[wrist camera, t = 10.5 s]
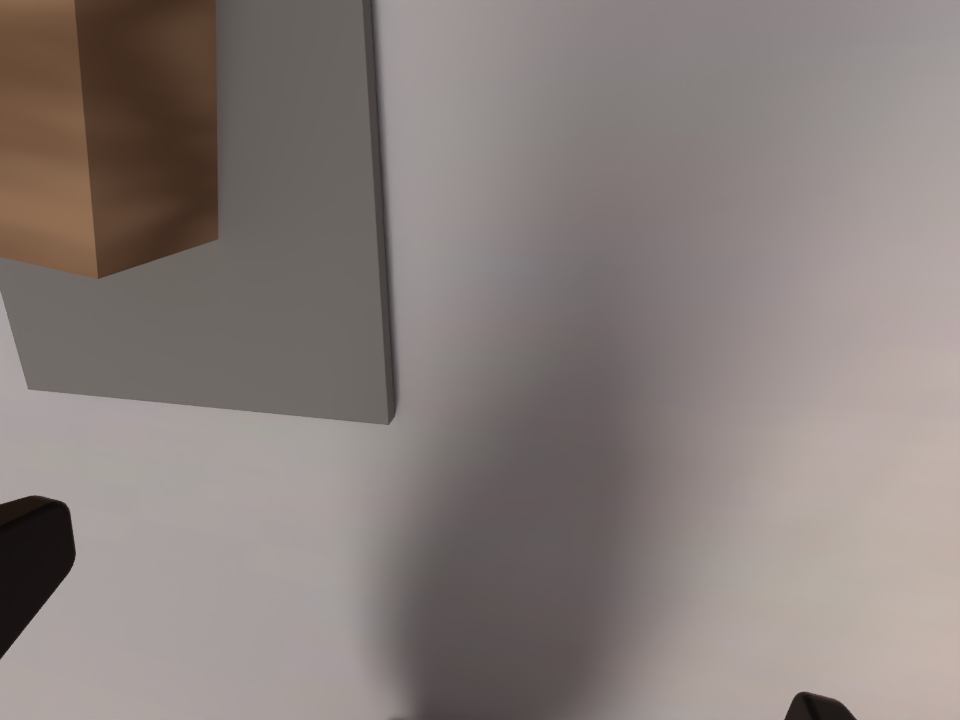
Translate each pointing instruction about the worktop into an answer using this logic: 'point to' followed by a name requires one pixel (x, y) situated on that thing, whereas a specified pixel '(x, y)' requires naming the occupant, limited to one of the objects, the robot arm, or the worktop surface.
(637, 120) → the worktop surface
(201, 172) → the walnut block
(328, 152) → the slate mat
